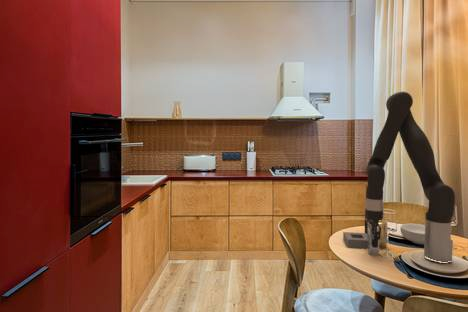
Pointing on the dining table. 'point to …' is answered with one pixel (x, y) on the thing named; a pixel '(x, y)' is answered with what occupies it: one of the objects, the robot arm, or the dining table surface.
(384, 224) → the round bit
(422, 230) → the cereal bowl
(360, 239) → the socket block
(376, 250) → the square bit
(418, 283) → the dining table surface
